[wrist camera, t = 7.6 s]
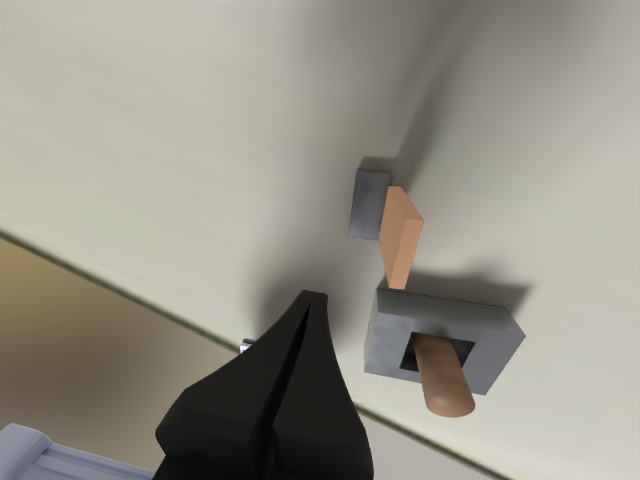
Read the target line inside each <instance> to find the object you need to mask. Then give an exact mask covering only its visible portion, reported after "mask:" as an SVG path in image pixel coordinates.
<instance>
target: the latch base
mask: <svg viewBox="0 0 640 480" xmlns="http://www.w3.org/2000/svg"><path fill="white" fill-rule="evenodd" d="M391 178H392V175H391V173H388V172H376V171H365V170H357V172H356V180H355V188H354V196H353V205H352V213H351V221H350V229H349V237H354V238H362V239H370V240H379V233H380V228H381V223H382V218H383V212H384V207H385V202H386V197H387V192H388V186H390V183H391Z"/></svg>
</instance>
